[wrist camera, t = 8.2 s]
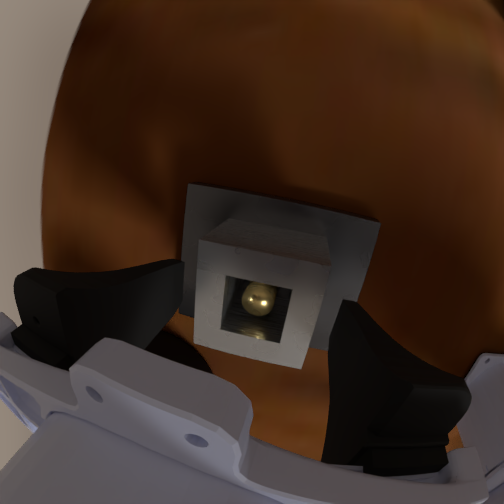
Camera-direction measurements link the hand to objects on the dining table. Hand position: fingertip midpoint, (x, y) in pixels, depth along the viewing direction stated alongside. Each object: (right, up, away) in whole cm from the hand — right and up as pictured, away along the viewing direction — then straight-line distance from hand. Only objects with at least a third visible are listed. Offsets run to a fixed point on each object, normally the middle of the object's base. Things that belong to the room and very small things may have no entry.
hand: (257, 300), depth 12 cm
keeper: (+1, +1, +4) cm, 4 cm away
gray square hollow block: (+1, +1, +3) cm, 3 cm away
